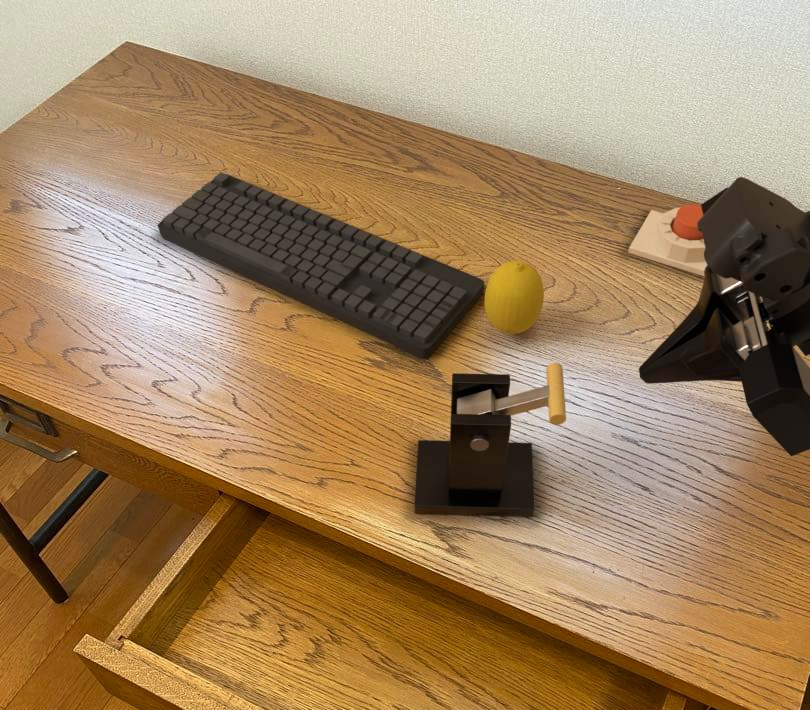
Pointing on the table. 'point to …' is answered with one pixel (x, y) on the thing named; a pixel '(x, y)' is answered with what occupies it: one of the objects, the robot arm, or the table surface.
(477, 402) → the lever
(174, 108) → the table surface
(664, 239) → the beige button base
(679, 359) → the robot arm
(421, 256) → the keyboard
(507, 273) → the lemon
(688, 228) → the button
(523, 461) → the black upright frame
